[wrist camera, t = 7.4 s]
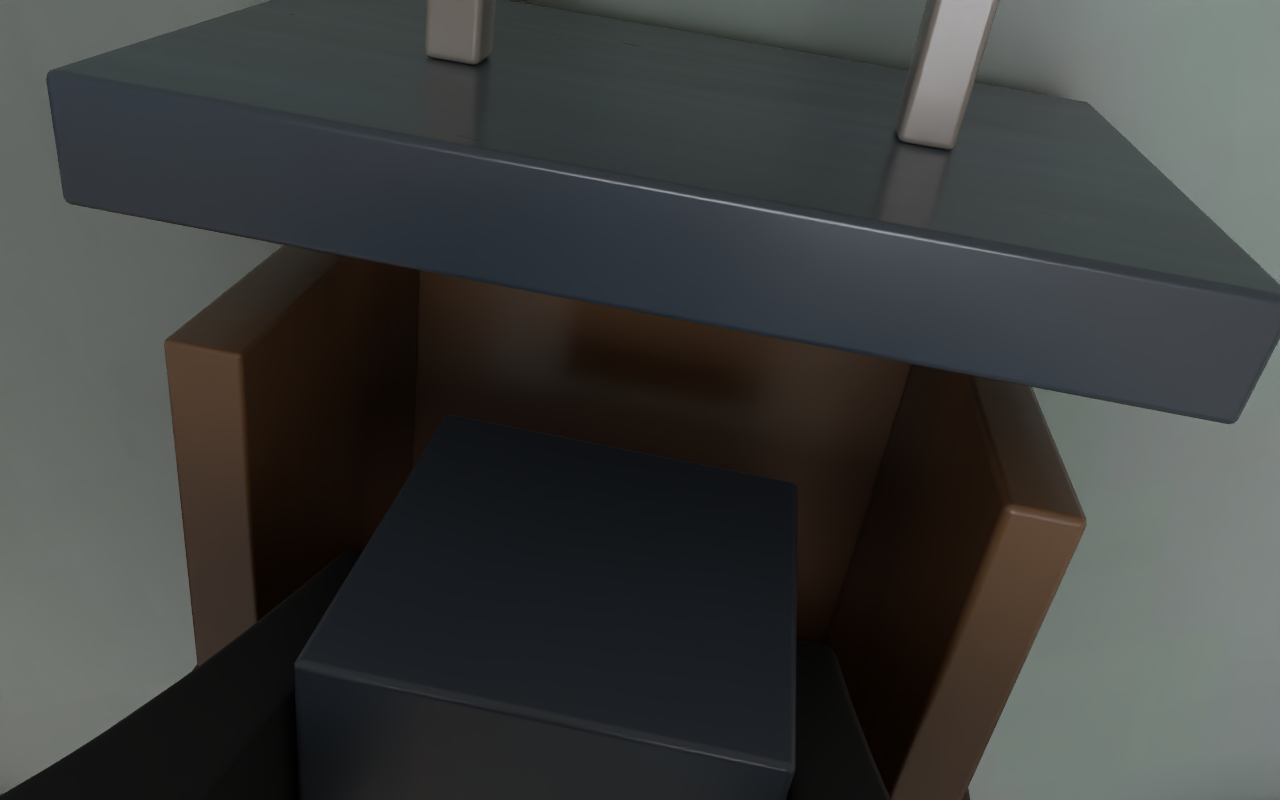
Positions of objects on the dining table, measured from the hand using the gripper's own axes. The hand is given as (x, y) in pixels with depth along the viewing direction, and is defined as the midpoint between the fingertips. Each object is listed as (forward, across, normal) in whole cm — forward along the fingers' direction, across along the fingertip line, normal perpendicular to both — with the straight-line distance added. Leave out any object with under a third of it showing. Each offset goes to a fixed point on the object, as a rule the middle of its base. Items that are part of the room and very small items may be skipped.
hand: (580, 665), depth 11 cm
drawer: (+7, 0, -1) cm, 7 cm away
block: (+1, 0, 0) cm, 1 cm away
